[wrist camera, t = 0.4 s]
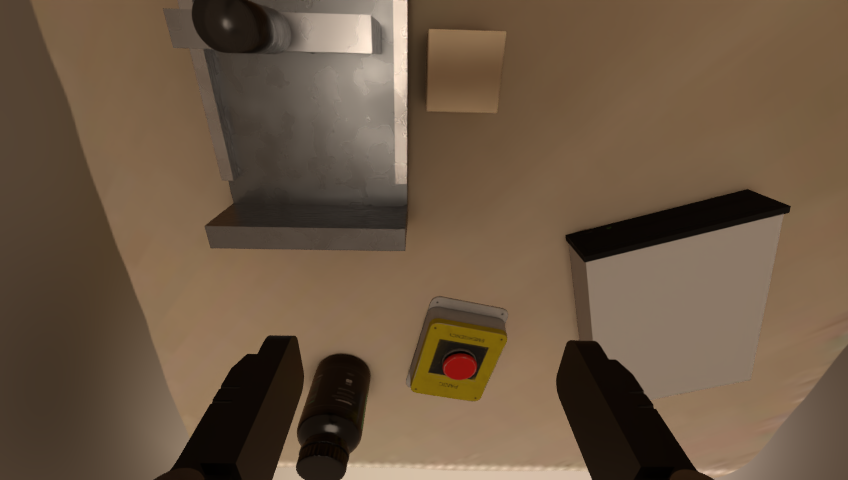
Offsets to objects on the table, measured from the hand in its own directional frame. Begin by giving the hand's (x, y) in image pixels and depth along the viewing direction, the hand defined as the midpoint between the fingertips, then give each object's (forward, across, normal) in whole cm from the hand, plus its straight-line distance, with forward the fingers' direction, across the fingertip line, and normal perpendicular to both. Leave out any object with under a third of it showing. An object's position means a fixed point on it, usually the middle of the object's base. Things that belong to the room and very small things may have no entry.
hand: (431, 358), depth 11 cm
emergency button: (+25, -5, +24) cm, 35 cm away
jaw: (+23, +9, -9) cm, 26 cm away
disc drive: (+25, -27, +16) cm, 40 cm away
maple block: (+25, -3, -7) cm, 26 cm away
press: (+24, +9, -3) cm, 26 cm away
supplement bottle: (+24, +9, +28) cm, 38 cm away
